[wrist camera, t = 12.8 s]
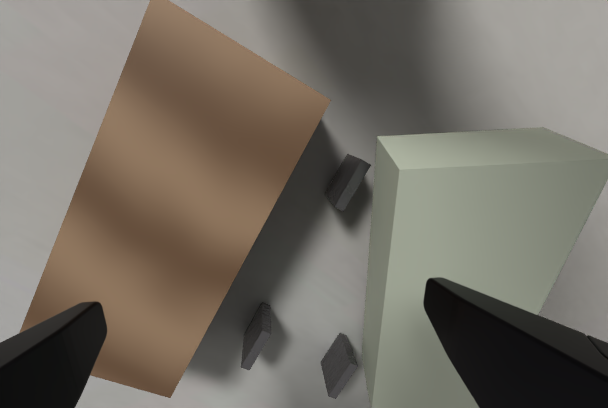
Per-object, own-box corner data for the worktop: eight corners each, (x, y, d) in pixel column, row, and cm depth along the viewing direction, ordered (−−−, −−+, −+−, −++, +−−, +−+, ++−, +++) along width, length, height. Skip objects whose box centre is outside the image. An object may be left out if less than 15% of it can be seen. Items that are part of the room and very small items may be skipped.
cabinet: (186, 29, 16) (153, -9, 11) (444, 183, 21) (499, 203, 16) (73, 295, 19) (11, 352, 15) (317, 378, 24) (331, 443, 19)
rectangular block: (399, 169, 11) (618, 158, 11) (372, 129, 16) (527, 120, 15) (371, 410, 20) (490, 407, 20) (359, 342, 25) (456, 338, 25)
